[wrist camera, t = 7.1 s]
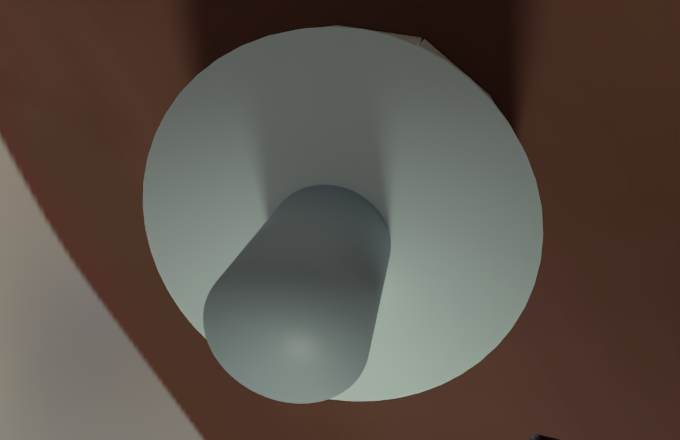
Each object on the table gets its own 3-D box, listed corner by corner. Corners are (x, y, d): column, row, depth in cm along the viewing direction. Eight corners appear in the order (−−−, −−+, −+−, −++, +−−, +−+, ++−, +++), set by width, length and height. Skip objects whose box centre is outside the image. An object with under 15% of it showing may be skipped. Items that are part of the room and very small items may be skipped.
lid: (597, 63, 11) (703, 100, 6) (480, 416, 15) (494, 582, 11) (153, -3, 12) (-11, -9, 8) (161, 340, 16) (59, 461, 12)
